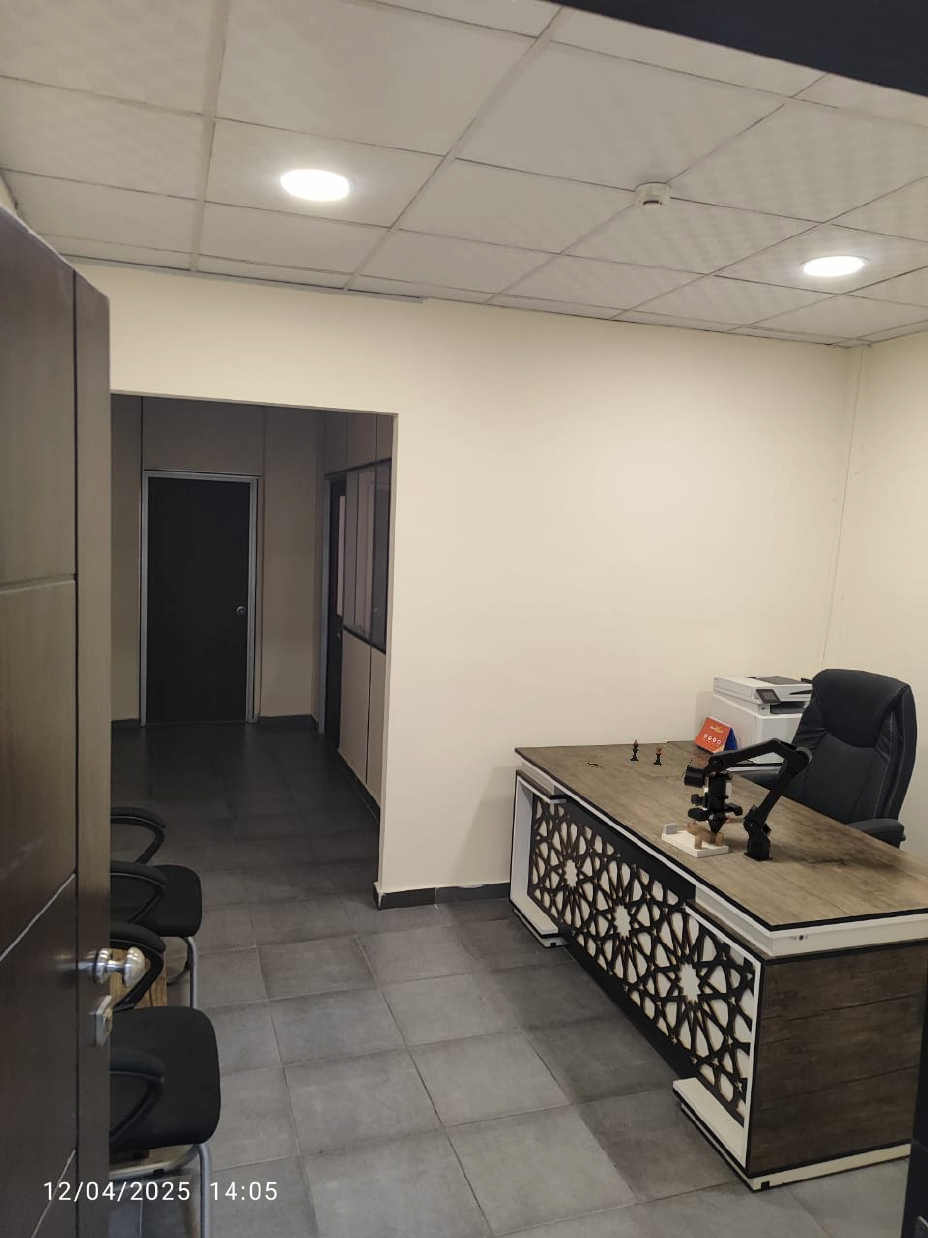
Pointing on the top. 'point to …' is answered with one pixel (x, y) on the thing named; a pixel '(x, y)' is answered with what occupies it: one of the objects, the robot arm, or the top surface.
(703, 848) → the white peg board
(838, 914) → the top surface
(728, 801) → the ink cartridge box
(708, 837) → the hinged leg
